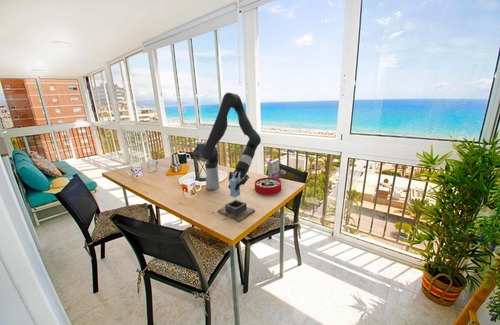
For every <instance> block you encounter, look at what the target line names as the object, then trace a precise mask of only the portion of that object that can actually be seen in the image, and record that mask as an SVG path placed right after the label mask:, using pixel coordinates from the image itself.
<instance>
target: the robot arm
mask: <svg viewBox="0 0 500 325" xmlns="http://www.w3.org/2000/svg"><path fill="white" fill-rule="evenodd" d="M231 109H234V110H235V112H236V114H237V118H238V120H237V122H238V125H239V126H240V129H241V131H242V133H243V135H244V136H247V137H248V141H247V143H246V146H245V148H244V150H243V152H242V154H241V156H240V158H239V159H238V161H237V163H236V165H235V169H234V171H229V174H228V181H229V180H230V179H232V178H237V179H238V184H237V185H236V187H235V190H236V191H237V190H238V189H239V187H241V186H242V185H243V186H244V185H245V184H246V183H247V182H248V180H249V179H250V176H249V175H248V174H247V173H248V171H249V169H250V167H251V165H252V163H253V162H252V161H253V159H254V157H255V154H256V150H257V148H258V147H259V145H260V144H261V141H262V140H261V139H262V138H261V136H260V135H259V133H258V132H257V131H256V130H255V128H254V127H253V125H252V123H251V121H250V119H249V117H248V115H247V113H246V110H245V107H244V105H243V101H242V99H241V97H240V96H239V95H238V93H233V92H225V93H224V95H223V97H222V100H221V103H220V106H219V109H218V112H217V116H216V117H215V120H214V122H213V126H212V128H211V130H210V133H209V135H208V138H207V140H206V143H205V144H204V146H203V148H202V150H201V157H202V159H204V160H206V162H205V163H204V164H205V165H204V166H205V167H204V168H205V186H206V189H207V190H210V191H211V190H212V191H215V190H218V189H219V188H220V180H219V179H220V178H219V168H218V164H219V153H218V152H219V151H218V148H217V144H218V143H219V142H220V141H221V140H222V138H223V137H224V135H225V133H226V130H227V129H228V115H229V112H230V110H231ZM227 188H228V189H229V190H230V183H229V184H228V187H227Z"/></svg>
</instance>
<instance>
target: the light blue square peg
mask: <svg viewBox="0 0 500 325" xmlns="http://www.w3.org/2000/svg"><path fill="white" fill-rule="evenodd" d="M228 181H229V182H228V183H229V184H230V189H229V191H230V197H233V198H237V197H238V196H240V195H241V189H240V187H241V186H240V187H239V189H238V190H237V191H236V190H235V187H236V185H237V184H238V179H237V178H232V179H230V180H228Z"/></svg>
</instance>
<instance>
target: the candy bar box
mask: <svg viewBox="0 0 500 325" xmlns="http://www.w3.org/2000/svg"><path fill="white" fill-rule="evenodd" d="M266 164H267V178H276V179H277V178H278V179H280V159H277V158H276V159H275V158H274V159H272V160H269V161H267V163H266Z"/></svg>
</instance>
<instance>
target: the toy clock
mask: <svg viewBox="0 0 500 325" xmlns="http://www.w3.org/2000/svg"><path fill="white" fill-rule="evenodd" d="M254 190H255V191H254V192H256V193H257V194H260V195H265V196H271V195H272V196H273V195H277V194H279V193H281V192H282V181H281V180H280V178H278V179H276V178H268V177H261V178H258V179H256V180H255V181H254Z"/></svg>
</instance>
